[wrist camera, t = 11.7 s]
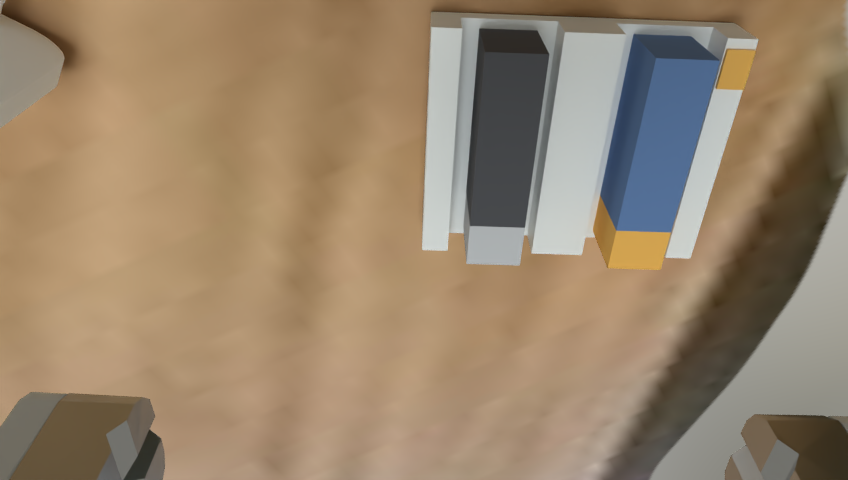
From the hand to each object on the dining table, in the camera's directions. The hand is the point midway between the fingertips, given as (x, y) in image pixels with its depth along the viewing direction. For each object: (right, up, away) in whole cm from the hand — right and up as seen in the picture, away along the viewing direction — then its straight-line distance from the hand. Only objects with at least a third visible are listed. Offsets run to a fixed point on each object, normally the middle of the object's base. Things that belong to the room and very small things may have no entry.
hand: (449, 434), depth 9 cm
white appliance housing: (+8, +9, +29) cm, 31 cm away
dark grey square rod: (+4, +9, +28) cm, 29 cm away
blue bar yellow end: (+12, +8, +28) cm, 32 cm away
